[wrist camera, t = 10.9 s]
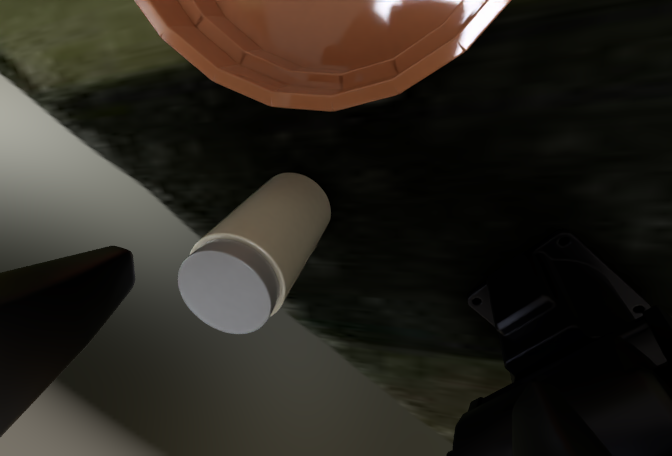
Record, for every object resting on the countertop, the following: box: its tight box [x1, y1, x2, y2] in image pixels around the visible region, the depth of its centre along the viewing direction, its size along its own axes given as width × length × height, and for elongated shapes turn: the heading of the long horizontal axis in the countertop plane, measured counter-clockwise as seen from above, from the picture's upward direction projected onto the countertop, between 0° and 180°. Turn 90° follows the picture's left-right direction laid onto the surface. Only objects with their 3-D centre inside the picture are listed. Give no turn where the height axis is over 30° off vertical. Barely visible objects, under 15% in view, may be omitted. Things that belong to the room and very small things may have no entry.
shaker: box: [178, 173, 331, 334], centre depth 18 cm, size 4×4×8 cm
